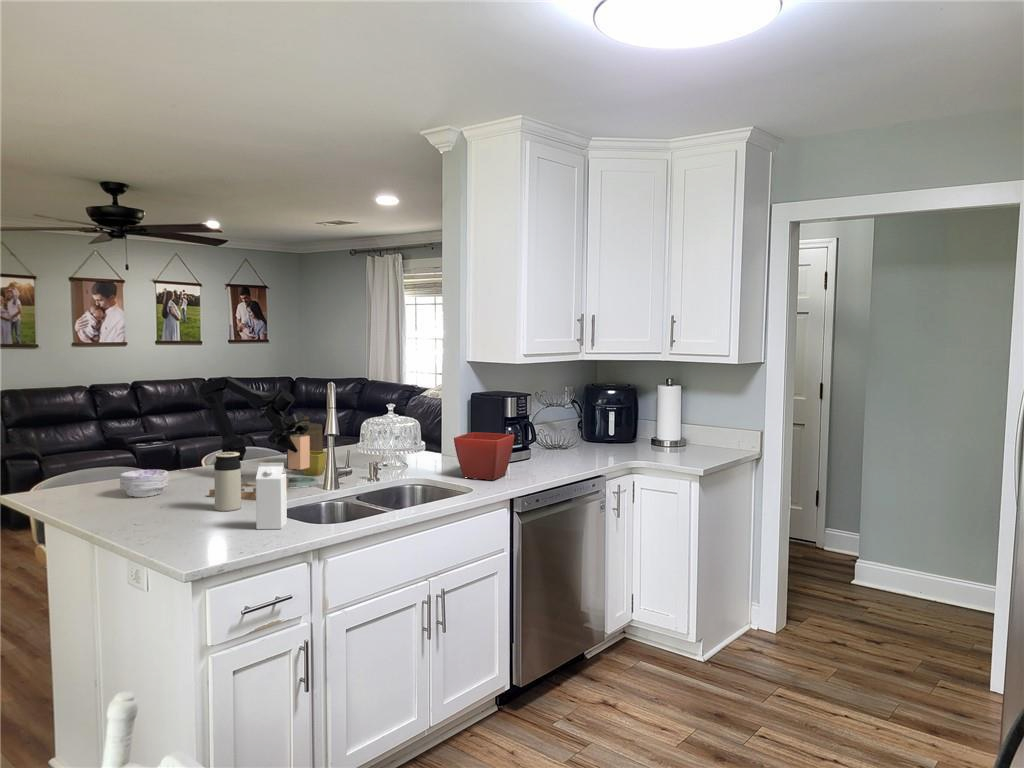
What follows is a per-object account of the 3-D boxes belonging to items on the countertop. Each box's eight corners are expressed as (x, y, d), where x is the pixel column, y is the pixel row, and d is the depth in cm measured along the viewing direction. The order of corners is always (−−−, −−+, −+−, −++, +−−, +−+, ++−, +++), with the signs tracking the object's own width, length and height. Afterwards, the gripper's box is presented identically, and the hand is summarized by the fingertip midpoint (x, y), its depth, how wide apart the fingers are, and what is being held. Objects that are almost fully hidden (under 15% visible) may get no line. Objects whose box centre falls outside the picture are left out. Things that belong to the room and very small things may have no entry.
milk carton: (262, 523, 220) (261, 460, 219) (286, 523, 220) (286, 460, 219) (256, 529, 213) (255, 465, 212) (281, 529, 213) (280, 464, 212)
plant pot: (452, 479, 290) (452, 437, 289) (472, 471, 308) (473, 431, 306) (496, 483, 283) (497, 440, 282) (515, 475, 300) (515, 434, 299)
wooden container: (307, 463, 323) (307, 413, 322) (330, 466, 314) (330, 415, 313) (279, 467, 311) (279, 416, 310) (302, 471, 302) (301, 418, 301)
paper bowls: (159, 488, 267) (159, 466, 267) (175, 495, 257) (175, 472, 256) (114, 494, 257) (113, 471, 256) (128, 501, 246) (127, 478, 245)
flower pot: (319, 477, 291) (319, 454, 290) (299, 476, 293) (299, 454, 292) (329, 473, 300) (329, 451, 299) (309, 472, 301) (309, 450, 301)
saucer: (274, 486, 272) (274, 482, 272) (292, 480, 285) (292, 476, 285) (305, 488, 269) (305, 484, 269) (323, 482, 282) (323, 478, 282)
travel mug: (225, 512, 232) (224, 456, 231) (209, 509, 236) (208, 454, 235) (246, 508, 239) (245, 453, 238) (230, 504, 243) (230, 450, 242)
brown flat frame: (209, 496, 254) (209, 485, 254) (244, 485, 275) (244, 474, 274) (256, 500, 250) (256, 488, 250) (288, 488, 270) (288, 477, 270)
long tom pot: (287, 468, 275) (287, 435, 274) (297, 465, 280) (297, 434, 279) (300, 469, 273) (300, 436, 272) (309, 467, 278) (309, 434, 277)
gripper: (273, 407, 268) (298, 439, 264) (305, 403, 285) (329, 433, 282) (256, 428, 271) (280, 459, 268) (288, 422, 288) (312, 452, 285)
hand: (301, 450), depth 276 cm, fingers closed on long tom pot, 6 cm apart
